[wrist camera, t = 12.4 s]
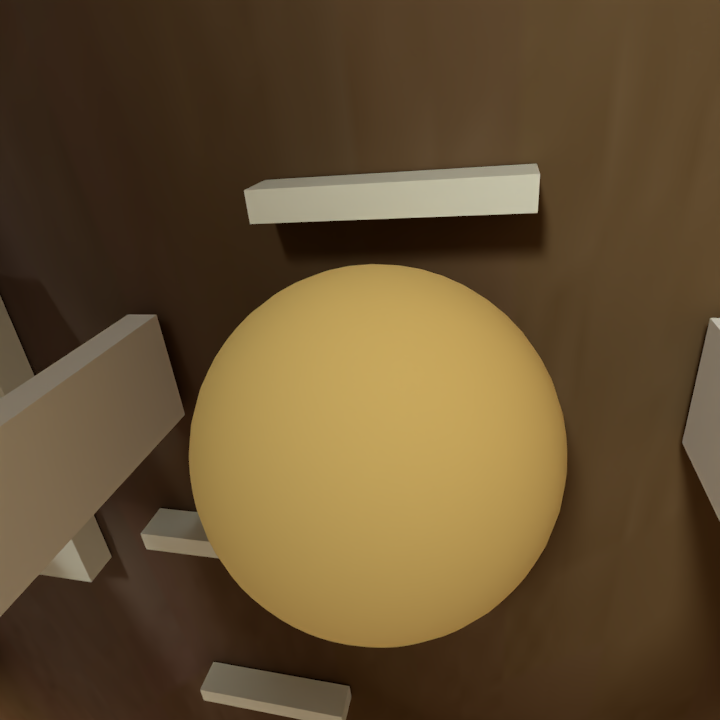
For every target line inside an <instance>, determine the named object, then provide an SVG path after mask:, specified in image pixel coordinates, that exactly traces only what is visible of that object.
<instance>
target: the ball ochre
mask: <svg viewBox="0 0 720 720" xmlns="http://www.w3.org/2000/svg"><path fill="white" fill-rule="evenodd" d="M189 469H190V479H191V486H192V492H193V497H194V501H195V505H196V509H197V512H198V515H199V517H200V520H201V522H202V525H203V528H204V530H205V533H206V536H207V538H208V540H209V542H210V544H211V546H212V548H213V550H214V552H215V553H216V555H217V556H218V558H219V559H220V561H221V562H222V563H223V565H224V566H225V568H226V569H227V571H228V572H229V574H230V575H231V576H232V578H233V579H234V580H235V581H236V582H237V584H238V585H239V586H240V587H241V588H242V589H243V590H244V591H245V592H246V593H247V594H248V595H249V596H250V597H251V598H252V599H253V600H255V601H256V602H257V603H258V604H260V605H261V606H262V607H263V608H265V609H266V610H267V611H269V612H270V613H272V614H273V615H275V616H276V617H278V618H279V619H281V620H282V621H284V622H286V623H287V624H289V625H291V626H293V627H294V628H297V629H299V630H301V631H303V632H305V633H307V634H310V635H313V636H315V637H318V638H321V639H325V640H328V641H332V642H336V643H341V644H345V645H353V646H361V647H378V648H388V647H401V646H407V645H413V644H418V643H421V642H425V641H429V640H432V639H436V638H439V637H443V636H446V635H448V634H450V633H453V632H455V631H458V630H460V629H461V628H463V627H465V626H467V625H468V624H470V623H472V622H474V621H475V620H477V619H479V618H480V617H482V616H484V615H485V614H487V613H488V612H490V611H491V610H492V609H493V608H495V607H496V606H497V605H498V604H500V603H501V602H502V601H503V600H504V599H505V598H506V597H507V596H508V595H509V594H510V593H511V592H513V591H514V590H515V588H516V587H517V586H518V585H519V584H520V583H521V582H522V581H523V579H524V578H525V577H526V576H527V574H528V573H529V572H530V570H531V569H532V567H533V566H534V564H535V563H536V561H537V560H538V558H539V556H540V555H541V553H542V552H543V550H544V548H545V547H546V545H547V542H548V540H549V537H550V535H551V532H552V530H553V527H554V525H555V522H556V520H557V517H558V515H559V512H560V508H561V503H562V498H563V493H564V488H565V482H566V476H567V438H566V431H565V424H564V418H563V413H562V410H561V407H560V403H559V400H558V397H557V394H556V391H555V388H554V385H553V382H552V379H551V377H550V375H549V373H548V371H547V369H546V368H545V366H544V364H543V362H542V360H541V358H540V357H539V355H538V354H537V352H536V350H535V349H534V348H533V346H532V345H531V343H530V342H529V341H528V339H527V338H526V336H525V335H524V334H523V332H522V331H521V330H520V329H519V328H518V327H517V326H516V325H515V324H514V323H513V322H512V320H511V319H510V318H509V317H508V316H507V315H506V314H504V313H503V312H502V311H501V310H499V309H498V308H497V307H496V306H495V305H493V304H492V303H491V302H490V301H488V300H487V299H485V298H484V297H482V296H481V295H479V294H477V293H476V292H474V291H472V290H471V289H469V288H468V287H466V286H464V285H462V284H460V283H458V282H456V281H453V280H451V279H449V278H447V277H444V276H442V275H439V274H435V273H432V272H429V271H426V270H422V269H417V268H412V267H406V266H400V265H382V264H366V265H354V266H346V267H341V268H337V269H332V270H328V271H324V272H322V273H319V274H316V275H314V276H311V277H308V278H306V279H303V280H301V281H298V282H296V283H294V284H292V285H290V286H289V287H287V288H285V289H283V290H281V291H279V292H278V293H276V294H275V295H274V296H272V297H271V298H270V299H268V300H267V301H266V302H264V303H263V304H262V305H261V306H259V307H258V308H257V309H255V310H254V311H253V312H252V313H250V314H249V315H248V316H247V317H246V318H245V319H244V320H243V322H242V323H241V324H240V325H239V326H238V327H237V328H236V329H235V330H234V332H233V333H232V334H231V335H230V336H229V338H228V339H227V340H226V342H225V343H224V345H223V346H222V348H221V349H220V351H219V352H218V354H217V355H216V357H215V358H214V360H213V362H212V364H211V366H210V368H209V370H208V372H207V375H206V377H205V379H204V381H203V384H202V386H201V388H200V391H199V395H198V399H197V403H196V406H195V410H194V414H193V418H192V422H191V431H190V444H189Z"/></svg>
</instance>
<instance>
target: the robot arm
mask: <svg viewBox="0 0 720 720" xmlns="http://www.w3.org/2000/svg"><path fill="white" fill-rule="evenodd" d="M184 415H185V413H184V409H183V406H182V402H181V398H180V395H179V391H178V388H177V384H176V381H175V377H174V374H173V370H172V367H171V363H170V360H169V356H168V353H167V349H166V346H165V342H164V339H163V335H162V332H161V328H160V325H159V321H158V318H157V315H131V314H128V315H126V316H125V317H123V318H122V319H120V320H119V321H117V322H116V323H114V324H113V325H111V326H110V327H108V328H107V329H105V330H104V331H102V332H101V333H99V334H98V335H96V336H95V337H93V338H92V339H90V340H88V341H87V342H85V343H84V344H82V345H81V346H79V347H78V348H76V349H75V350H73V351H72V352H70V353H69V354H67V355H66V356H64V357H63V358H61V359H60V360H58V361H57V362H55V363H54V364H52V365H51V366H49V367H48V368H46V369H45V370H43V371H41V372H40V373H38V374H37V375H35V376H34V377H32V378H31V379H29V380H28V381H26V382H25V383H23V384H22V385H20V386H19V387H17V388H16V389H14V390H13V391H11V392H10V393H8V394H7V395H5V396H4V397H2V398H1V399H0V617H1V616H2V615H3V613H4V612H5V611H6V610H7V609H8V608H9V607H10V606H11V605H12V604H13V602H14V601H15V600H16V599H17V598H18V597H19V596H20V595H21V594H22V593H23V592H24V590H25V589H26V588H27V587H28V586H29V585H30V584H31V583H32V582H33V581H34V579H35V578H36V577H37V576H38V575H39V574H40V573H41V572H42V571H43V570H44V569H45V567H46V566H47V565H48V564H49V563H50V562H51V561H52V560H53V559H54V558H55V557H56V555H57V554H58V553H59V552H60V551H61V550H62V549H63V548H64V547H65V546H66V544H67V543H68V542H69V541H70V540H71V539H72V538H73V537H74V536H75V535H76V534H77V532H78V531H79V530H80V529H81V528H82V527H83V526H84V525H85V524H86V523H87V521H88V520H89V519H90V518H91V517H92V516H93V515H94V514H95V513H96V512H97V511H98V509H99V508H100V507H101V506H102V505H103V504H104V503H105V502H106V501H107V500H108V498H109V497H110V496H111V495H112V494H113V493H114V492H115V491H116V490H117V489H118V488H119V486H120V485H121V484H122V483H123V482H124V481H125V480H126V479H127V478H128V477H129V476H130V474H131V473H132V472H133V471H134V470H135V469H136V468H137V467H138V466H139V465H140V463H141V462H142V461H143V460H144V459H145V458H146V457H147V456H148V455H149V454H150V453H151V451H152V450H153V449H154V448H155V447H156V446H157V445H158V444H159V443H160V442H161V440H162V439H163V438H164V437H165V436H166V435H167V434H168V433H169V432H170V431H171V430H172V428H173V427H174V426H175V425H176V424H177V423H178V422H179V421H180V420H181V419H182V417H183V416H184ZM682 444H683V446H684V448H685V450H686V452H687V454H688V456H689V458H690V460H691V462H692V465H693V467H694V469H695V471H696V473H697V475H698V477H699V479H700V481H701V483H702V485H703V488H704V490H705V492H706V494H707V496H708V498H709V500H710V502H711V504H712V506H713V509H714V511H715V513H716V515H717V517H718V519H719V521H720V318H710V320H709V325H708V329H707V334H706V338H705V343H704V347H703V352H702V356H701V360H700V365H699V369H698V374H697V378H696V383H695V387H694V392H693V396H692V401H691V405H690V410H689V414H688V419H687V423H686V428H685V432H684V436H683V441H682Z"/></svg>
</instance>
